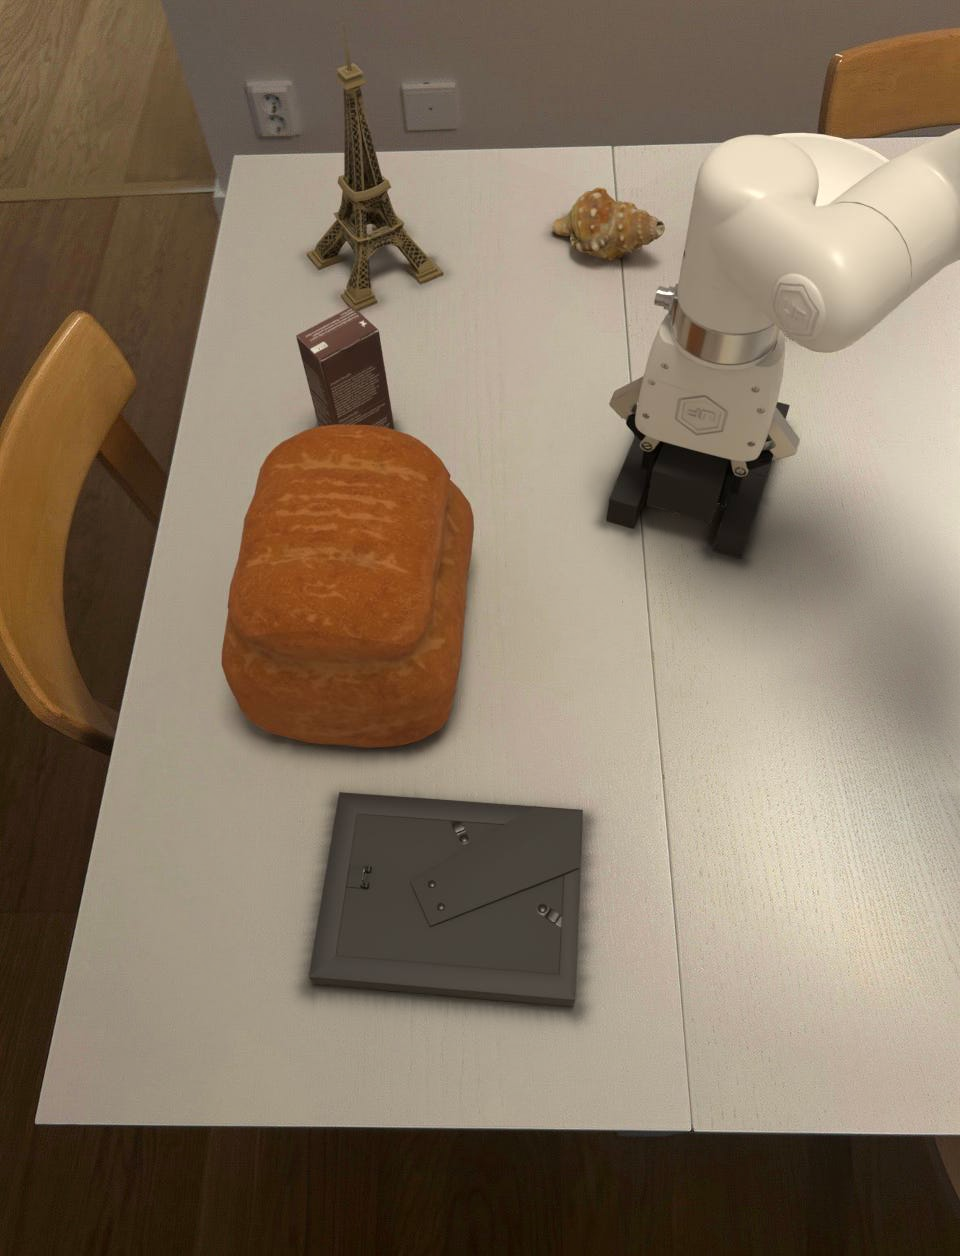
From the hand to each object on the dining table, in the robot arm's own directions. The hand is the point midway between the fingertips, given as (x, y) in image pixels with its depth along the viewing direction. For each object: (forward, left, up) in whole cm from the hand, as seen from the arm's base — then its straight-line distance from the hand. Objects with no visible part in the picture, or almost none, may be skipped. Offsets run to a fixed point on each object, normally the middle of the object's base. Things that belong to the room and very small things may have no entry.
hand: (689, 482), depth 90 cm
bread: (+21, +22, -4) cm, 30 cm away
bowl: (-2, -33, -4) cm, 34 cm away
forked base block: (0, -4, -4) cm, 6 cm away
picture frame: (+6, +40, -4) cm, 40 cm away
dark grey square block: (0, 0, -1) cm, 1 cm away
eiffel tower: (+39, -20, -4) cm, 44 cm away
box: (+31, +2, -4) cm, 31 cm away
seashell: (+17, -31, -4) cm, 36 cm away
